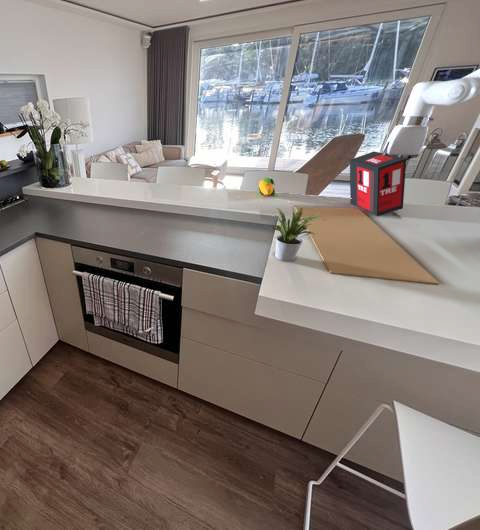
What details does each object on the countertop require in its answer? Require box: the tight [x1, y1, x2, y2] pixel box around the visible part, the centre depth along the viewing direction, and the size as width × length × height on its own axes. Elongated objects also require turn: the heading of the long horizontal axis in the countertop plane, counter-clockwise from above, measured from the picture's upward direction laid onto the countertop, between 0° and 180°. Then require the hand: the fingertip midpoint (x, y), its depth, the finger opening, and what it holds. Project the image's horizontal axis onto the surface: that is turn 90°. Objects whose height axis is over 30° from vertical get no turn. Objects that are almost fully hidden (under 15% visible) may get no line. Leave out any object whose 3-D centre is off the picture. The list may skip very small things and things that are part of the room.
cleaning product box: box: [349, 150, 407, 217], centre depth 115 cm, size 16×9×20 cm, turn 176°
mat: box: [294, 205, 440, 285], centre depth 101 cm, size 24×58×1 cm, turn 161°
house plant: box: [270, 206, 324, 262], centre depth 85 cm, size 14×14×16 cm
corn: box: [258, 177, 276, 198], centre depth 144 cm, size 7×8×20 cm
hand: (392, 173), depth 113 cm, fingers closed
